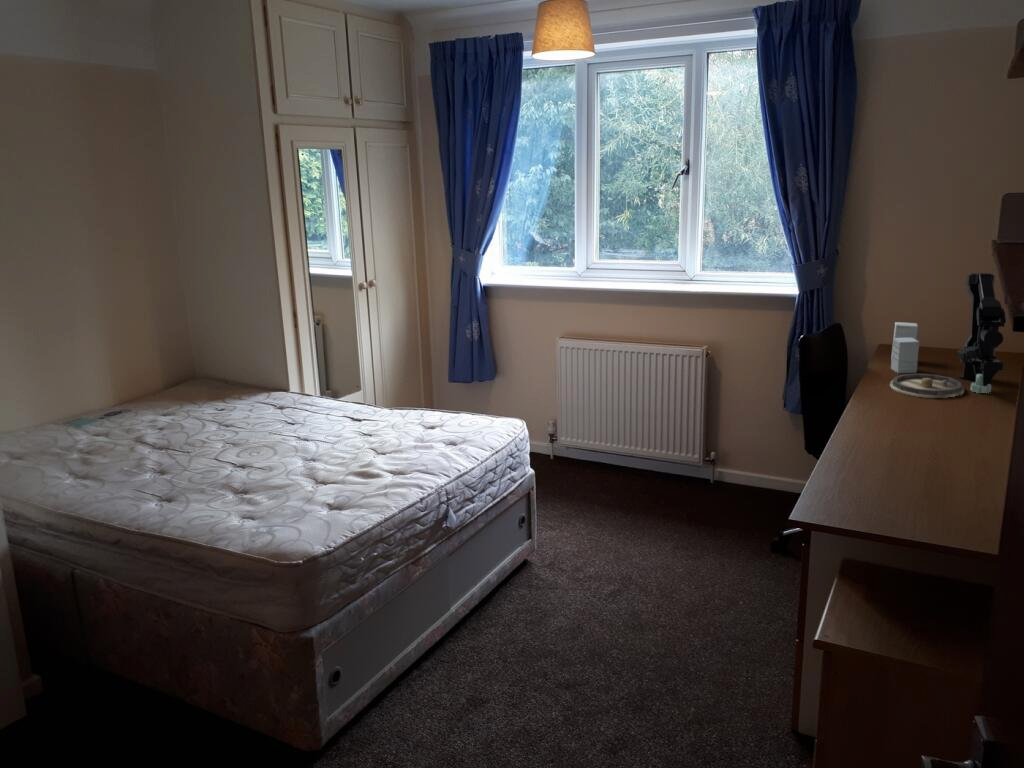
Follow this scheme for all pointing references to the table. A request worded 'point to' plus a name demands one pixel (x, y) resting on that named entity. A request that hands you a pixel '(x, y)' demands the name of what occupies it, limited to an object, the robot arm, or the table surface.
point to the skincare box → (905, 330)
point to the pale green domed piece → (980, 385)
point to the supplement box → (905, 355)
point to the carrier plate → (917, 385)
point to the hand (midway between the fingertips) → (981, 383)
